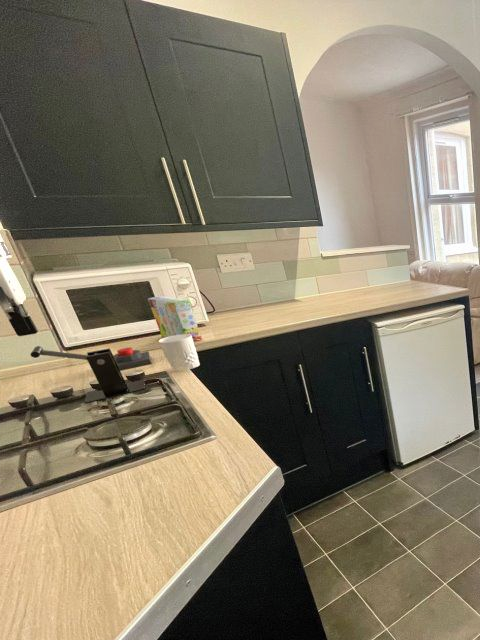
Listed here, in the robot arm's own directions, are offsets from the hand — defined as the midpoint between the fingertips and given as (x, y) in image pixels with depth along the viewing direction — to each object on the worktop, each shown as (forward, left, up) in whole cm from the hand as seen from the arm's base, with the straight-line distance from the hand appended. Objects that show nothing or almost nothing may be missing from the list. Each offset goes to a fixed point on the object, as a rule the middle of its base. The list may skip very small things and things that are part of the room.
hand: (28, 334), depth 98 cm
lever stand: (+10, 0, -19) cm, 21 cm away
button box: (+13, +27, -19) cm, 36 cm away
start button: (+13, +27, -15) cm, 34 cm away
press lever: (+5, 0, -8) cm, 9 cm away
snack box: (+28, +52, -19) cm, 62 cm away
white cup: (+26, +8, -19) cm, 33 cm away
